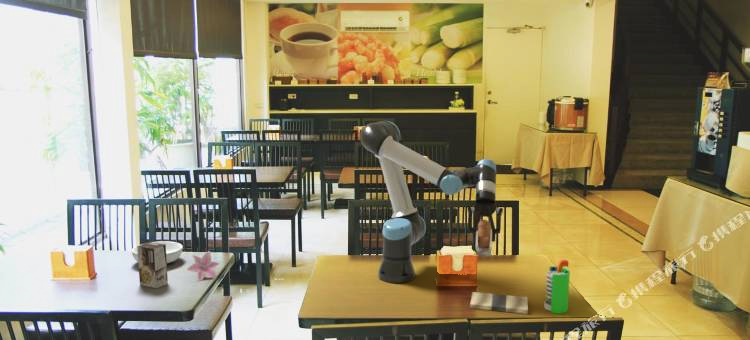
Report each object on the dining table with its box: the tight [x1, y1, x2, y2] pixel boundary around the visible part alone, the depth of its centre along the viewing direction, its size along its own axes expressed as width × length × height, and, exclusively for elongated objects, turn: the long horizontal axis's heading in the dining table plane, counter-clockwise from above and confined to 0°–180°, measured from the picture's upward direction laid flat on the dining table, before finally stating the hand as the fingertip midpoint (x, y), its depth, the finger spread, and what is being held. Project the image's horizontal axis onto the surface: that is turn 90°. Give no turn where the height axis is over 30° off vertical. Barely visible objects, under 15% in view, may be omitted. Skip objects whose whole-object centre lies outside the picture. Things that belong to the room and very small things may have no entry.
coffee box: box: [136, 241, 169, 289], centre depth 225 cm, size 9×6×16 cm
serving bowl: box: [131, 240, 184, 264], centre depth 252 cm, size 21×21×7 cm
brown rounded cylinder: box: [476, 219, 492, 257], centre depth 213 cm, size 5×5×13 cm
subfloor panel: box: [469, 291, 529, 315], centre depth 210 cm, size 20×12×2 cm, turn 77°
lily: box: [186, 250, 220, 282], centre depth 235 cm, size 12×12×10 cm
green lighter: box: [544, 259, 570, 314], centre depth 205 cm, size 9×8×18 cm
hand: (483, 248), depth 210 cm, fingers closed on brown rounded cylinder, 4 cm apart
